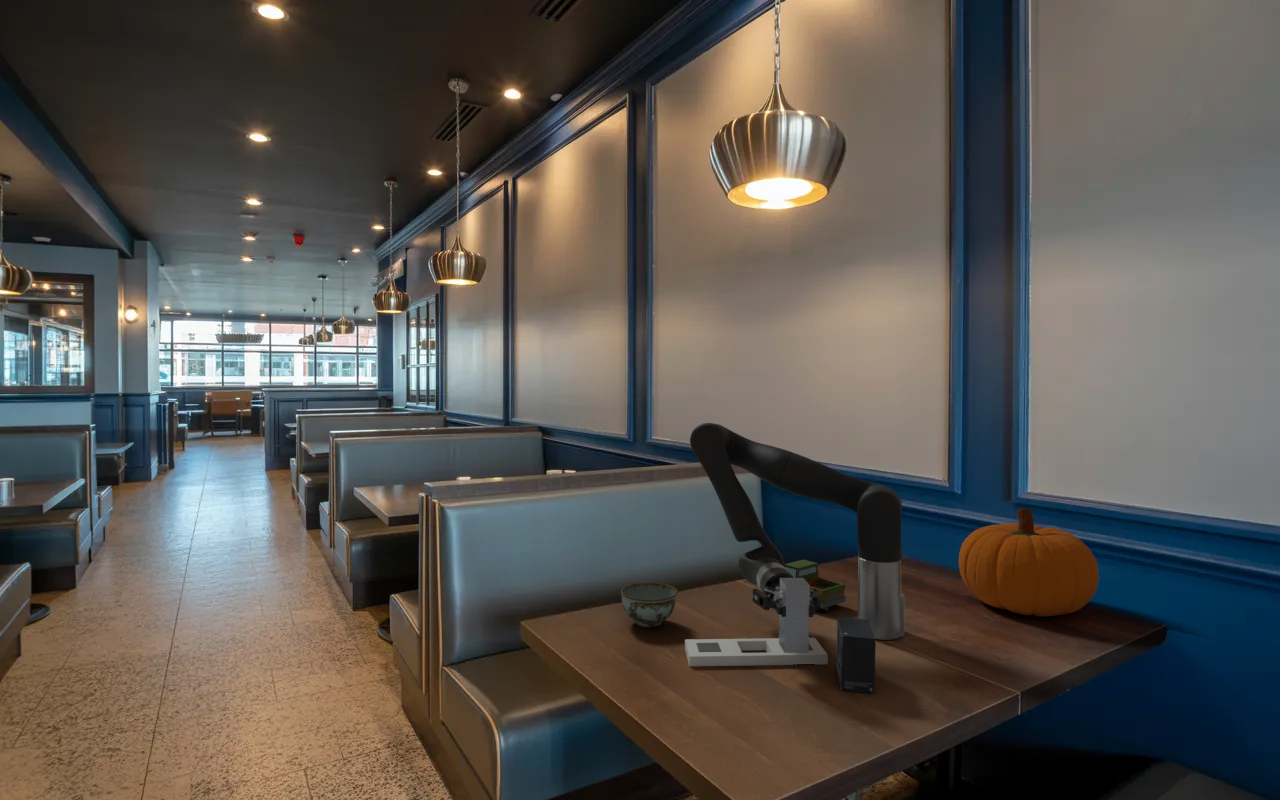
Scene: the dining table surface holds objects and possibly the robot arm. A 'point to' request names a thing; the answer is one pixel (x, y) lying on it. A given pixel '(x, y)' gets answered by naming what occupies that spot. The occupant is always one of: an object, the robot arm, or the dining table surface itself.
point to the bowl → (649, 602)
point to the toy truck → (818, 583)
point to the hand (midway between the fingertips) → (797, 611)
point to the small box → (855, 655)
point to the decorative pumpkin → (1028, 568)
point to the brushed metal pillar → (794, 615)
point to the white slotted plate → (731, 655)
